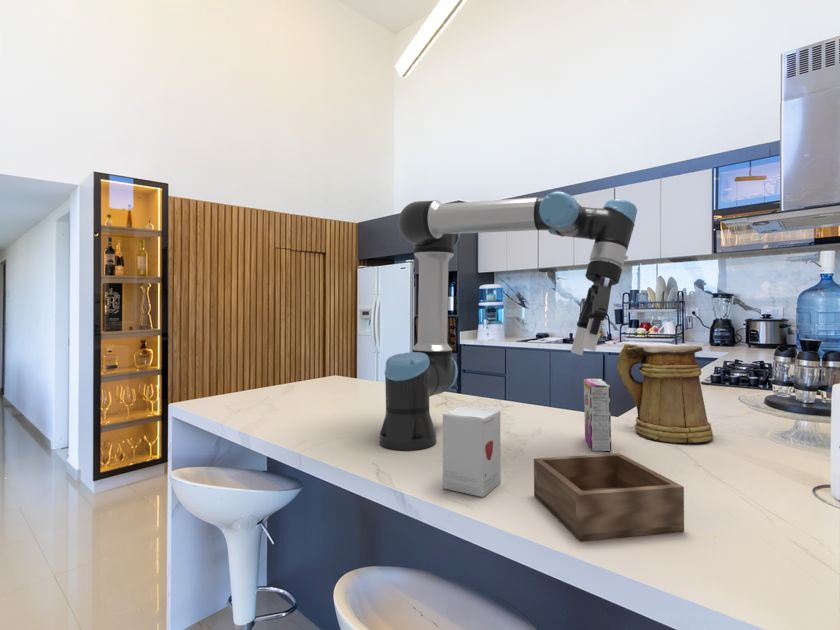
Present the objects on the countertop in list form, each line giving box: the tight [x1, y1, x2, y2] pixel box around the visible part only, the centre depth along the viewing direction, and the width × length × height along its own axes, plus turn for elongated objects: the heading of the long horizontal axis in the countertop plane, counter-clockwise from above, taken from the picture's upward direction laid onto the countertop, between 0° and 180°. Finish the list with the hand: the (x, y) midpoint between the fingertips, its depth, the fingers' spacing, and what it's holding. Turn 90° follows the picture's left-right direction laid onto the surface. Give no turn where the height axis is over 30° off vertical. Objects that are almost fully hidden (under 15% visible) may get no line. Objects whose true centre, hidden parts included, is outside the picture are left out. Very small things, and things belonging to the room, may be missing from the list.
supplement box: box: [442, 405, 502, 498], centre depth 92 cm, size 9×9×15 cm
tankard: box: [616, 343, 714, 444], centre depth 127 cm, size 18×24×25 cm
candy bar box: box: [583, 378, 612, 453], centre depth 118 cm, size 11×5×16 cm, turn 168°
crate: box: [533, 452, 685, 542], centre depth 79 cm, size 17×17×7 cm
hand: (581, 351), depth 106 cm, fingers open, 13 cm apart
